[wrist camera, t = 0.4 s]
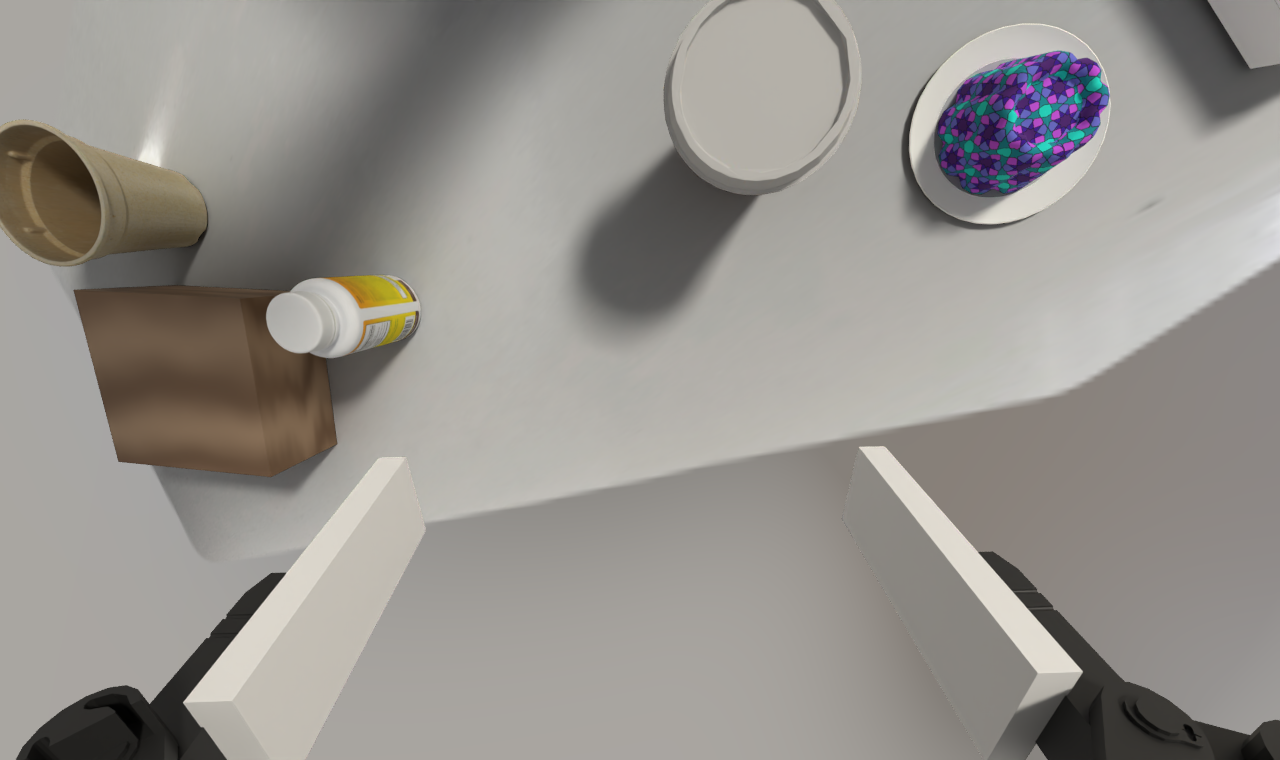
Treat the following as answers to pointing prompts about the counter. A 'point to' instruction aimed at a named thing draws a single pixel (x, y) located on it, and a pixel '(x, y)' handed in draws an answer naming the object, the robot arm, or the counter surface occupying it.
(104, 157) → the flower pot
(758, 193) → the disposable coffee cup
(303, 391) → the block
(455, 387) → the counter surface
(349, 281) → the supplement bottle
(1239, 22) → the white rectangular box
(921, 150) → the pudding
